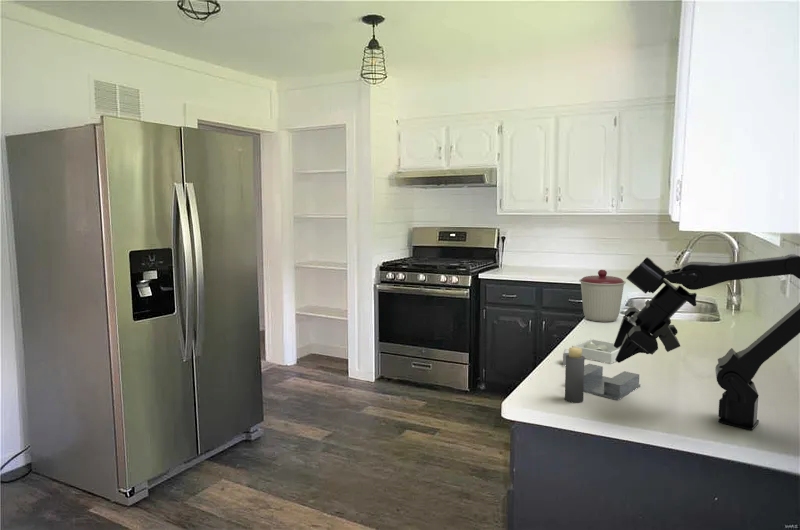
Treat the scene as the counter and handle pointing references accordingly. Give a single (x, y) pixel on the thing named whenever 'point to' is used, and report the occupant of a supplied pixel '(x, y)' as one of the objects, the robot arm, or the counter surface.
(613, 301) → the canister
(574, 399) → the grey and tan cylinder
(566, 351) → the usb wall charger
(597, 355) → the parts tray
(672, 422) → the counter surface
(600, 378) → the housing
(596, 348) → the pipe fitting
